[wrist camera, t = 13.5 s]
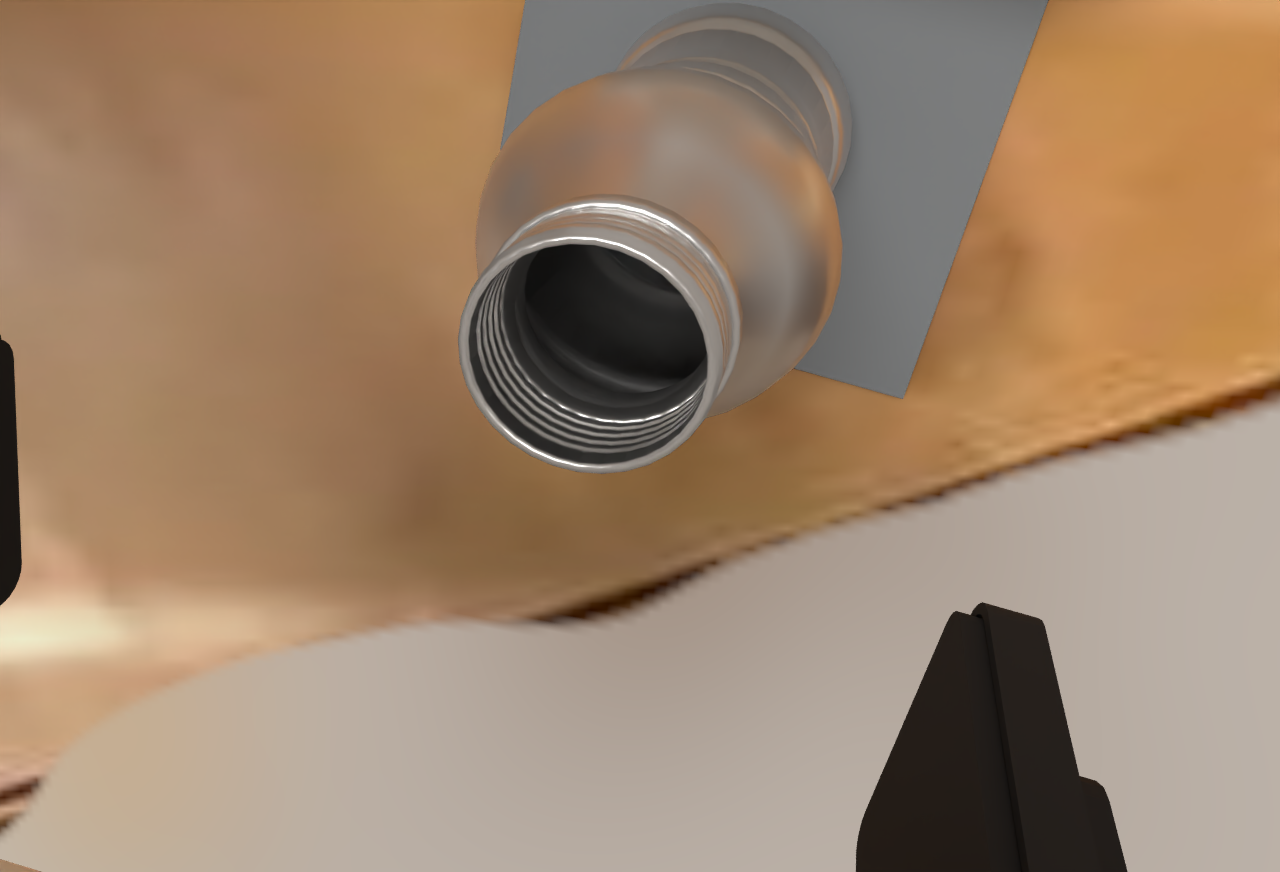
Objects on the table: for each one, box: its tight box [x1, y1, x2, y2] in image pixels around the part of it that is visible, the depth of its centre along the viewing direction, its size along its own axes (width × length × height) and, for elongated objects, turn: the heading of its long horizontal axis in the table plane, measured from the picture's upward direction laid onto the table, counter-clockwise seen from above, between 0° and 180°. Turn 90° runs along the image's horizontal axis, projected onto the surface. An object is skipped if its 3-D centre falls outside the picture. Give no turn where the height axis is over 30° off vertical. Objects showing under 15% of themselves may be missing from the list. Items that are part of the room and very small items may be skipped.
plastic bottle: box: [458, 3, 852, 474], centre depth 25 cm, size 6×7×20 cm
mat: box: [500, 0, 1048, 399], centre depth 34 cm, size 14×14×1 cm
